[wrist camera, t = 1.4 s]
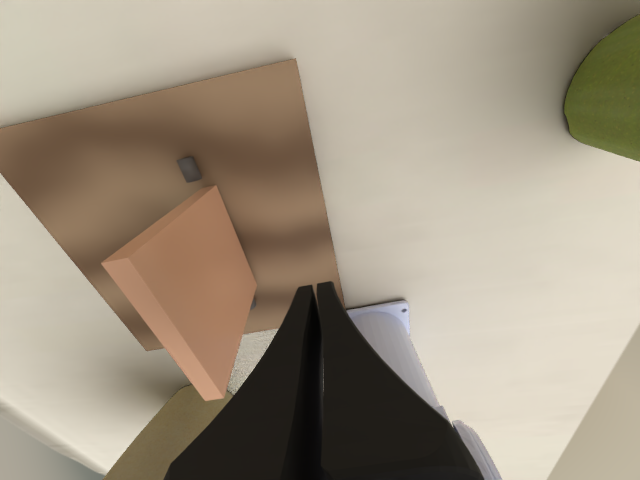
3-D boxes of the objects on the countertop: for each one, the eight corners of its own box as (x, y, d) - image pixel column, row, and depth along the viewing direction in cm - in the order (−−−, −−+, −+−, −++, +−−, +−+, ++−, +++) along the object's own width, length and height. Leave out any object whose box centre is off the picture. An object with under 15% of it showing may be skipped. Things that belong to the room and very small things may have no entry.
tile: (257, 285, 20) (224, 398, 12) (243, 287, 20) (201, 401, 12) (216, 184, 16) (128, 257, 8) (198, 188, 16) (95, 264, 8)
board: (345, 308, 24) (348, 324, 22) (152, 342, 25) (140, 360, 23) (296, 61, 14) (294, 54, 13) (-11, 134, 15) (-52, 137, 14)
